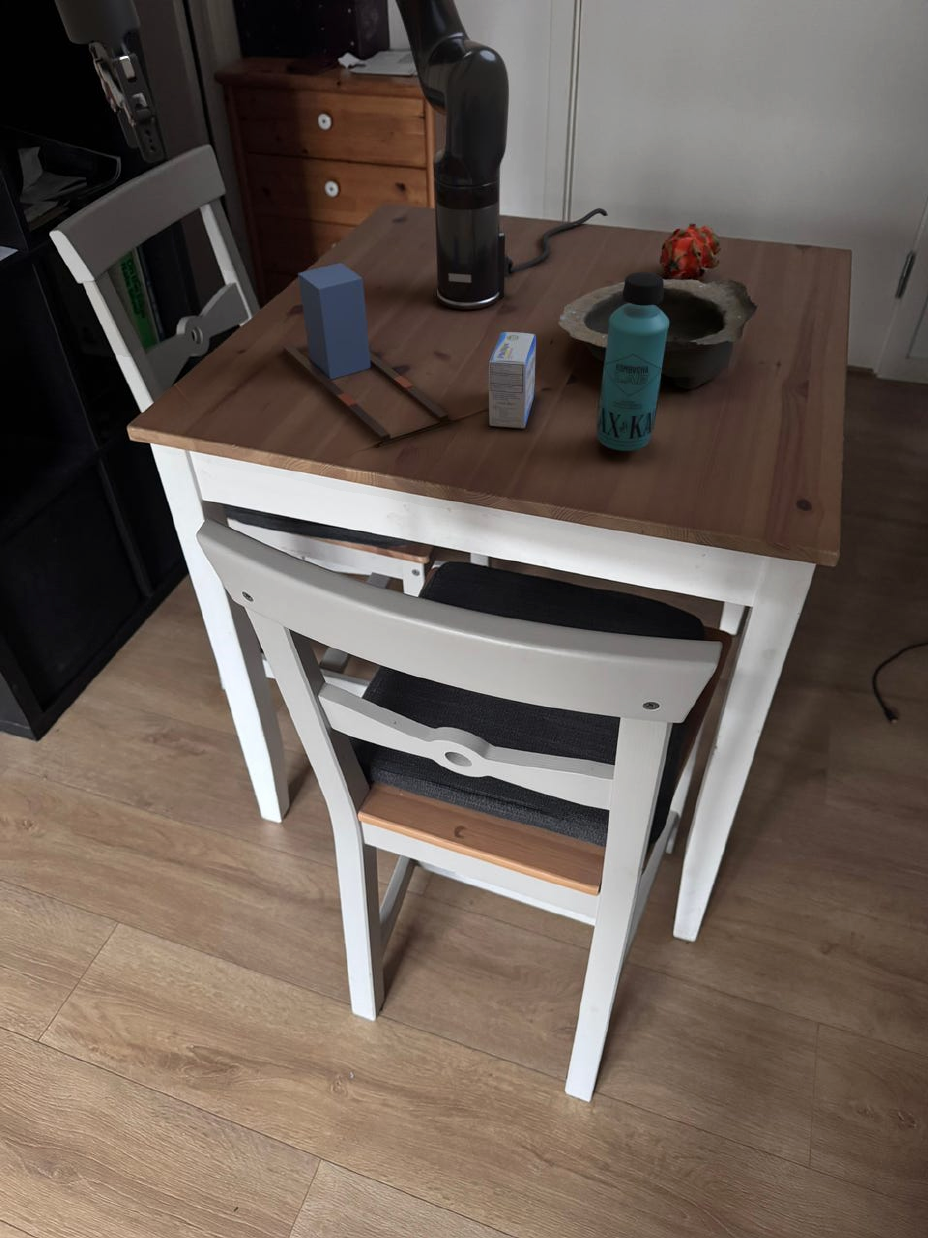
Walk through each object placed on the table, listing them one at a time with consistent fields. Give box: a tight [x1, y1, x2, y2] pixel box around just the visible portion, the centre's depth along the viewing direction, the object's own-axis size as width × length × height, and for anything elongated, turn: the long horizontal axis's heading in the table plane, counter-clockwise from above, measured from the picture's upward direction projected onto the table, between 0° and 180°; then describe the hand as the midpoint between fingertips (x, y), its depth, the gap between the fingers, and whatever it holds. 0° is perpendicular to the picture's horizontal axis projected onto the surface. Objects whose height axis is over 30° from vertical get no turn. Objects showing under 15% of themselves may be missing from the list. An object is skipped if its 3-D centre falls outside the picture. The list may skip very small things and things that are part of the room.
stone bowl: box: [557, 278, 759, 390], centre depth 117 cm, size 25×25×9 cm
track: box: [283, 344, 452, 448], centre depth 115 cm, size 10×28×1 cm, turn 32°
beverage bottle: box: [595, 271, 669, 452], centre depth 97 cm, size 6×7×20 cm
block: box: [297, 262, 372, 381], centre depth 115 cm, size 6×6×12 cm
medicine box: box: [488, 331, 537, 429], centre depth 107 cm, size 8×4×9 cm, turn 168°
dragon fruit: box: [659, 222, 722, 281], centre depth 138 cm, size 8×8×12 cm
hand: (147, 153), depth 102 cm, fingers open, 8 cm apart
